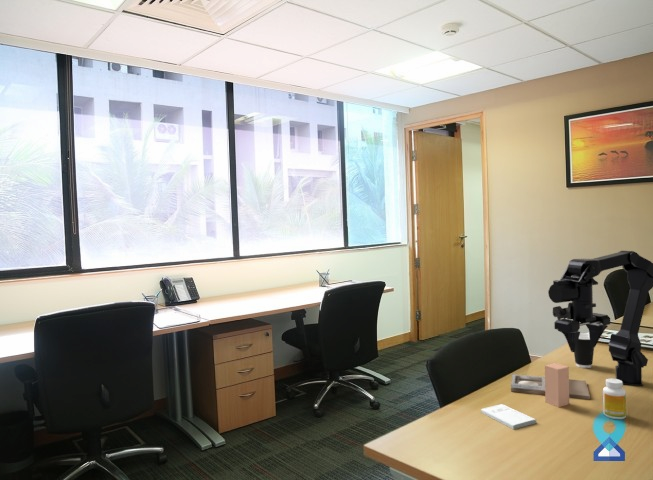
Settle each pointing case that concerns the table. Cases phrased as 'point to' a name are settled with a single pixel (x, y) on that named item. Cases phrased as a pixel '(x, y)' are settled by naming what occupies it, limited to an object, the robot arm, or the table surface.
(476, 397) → the table surface
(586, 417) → the table surface
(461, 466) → the table surface
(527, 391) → the board
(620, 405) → the supplement bottle
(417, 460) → the table surface
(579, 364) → the dixie cup
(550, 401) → the terracotta pin
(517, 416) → the external hard drive
